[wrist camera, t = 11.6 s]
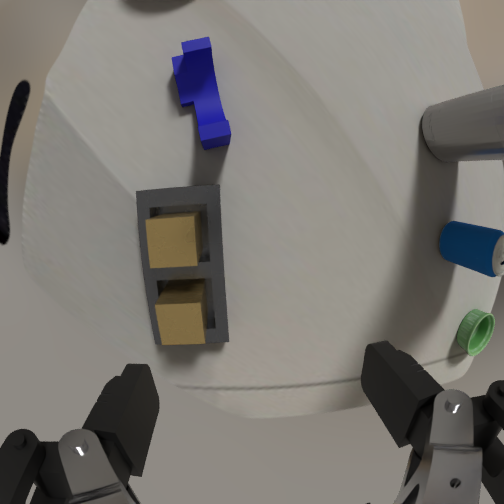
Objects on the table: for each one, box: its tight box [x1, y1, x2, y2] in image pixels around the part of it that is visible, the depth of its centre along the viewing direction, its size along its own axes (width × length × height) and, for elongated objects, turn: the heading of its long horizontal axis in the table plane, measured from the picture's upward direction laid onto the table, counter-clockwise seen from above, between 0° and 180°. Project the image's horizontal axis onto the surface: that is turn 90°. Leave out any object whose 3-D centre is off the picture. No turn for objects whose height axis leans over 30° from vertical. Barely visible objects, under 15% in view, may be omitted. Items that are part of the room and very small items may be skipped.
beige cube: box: [145, 211, 203, 268], centre depth 28 cm, size 4×4×8 cm
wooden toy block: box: [155, 278, 208, 345], centre depth 30 cm, size 4×4×8 cm
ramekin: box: [457, 309, 495, 356], centre depth 40 cm, size 9×9×4 cm
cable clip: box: [172, 37, 231, 150], centre depth 27 cm, size 12×4×6 cm, turn 12°
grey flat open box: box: [136, 185, 229, 344], centre depth 32 cm, size 9×18×4 cm, turn 2°
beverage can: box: [439, 221, 504, 277], centre depth 31 cm, size 6×6×12 cm
